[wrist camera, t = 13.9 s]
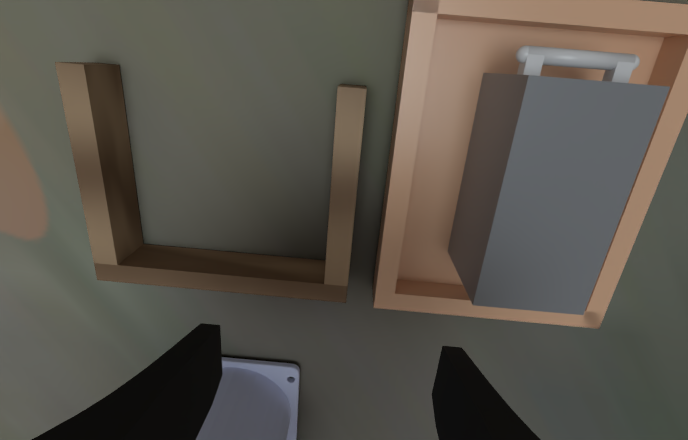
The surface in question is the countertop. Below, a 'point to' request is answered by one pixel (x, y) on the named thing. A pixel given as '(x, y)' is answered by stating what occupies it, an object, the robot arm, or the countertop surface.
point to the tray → (457, 121)
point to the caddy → (549, 178)
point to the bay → (188, 263)
